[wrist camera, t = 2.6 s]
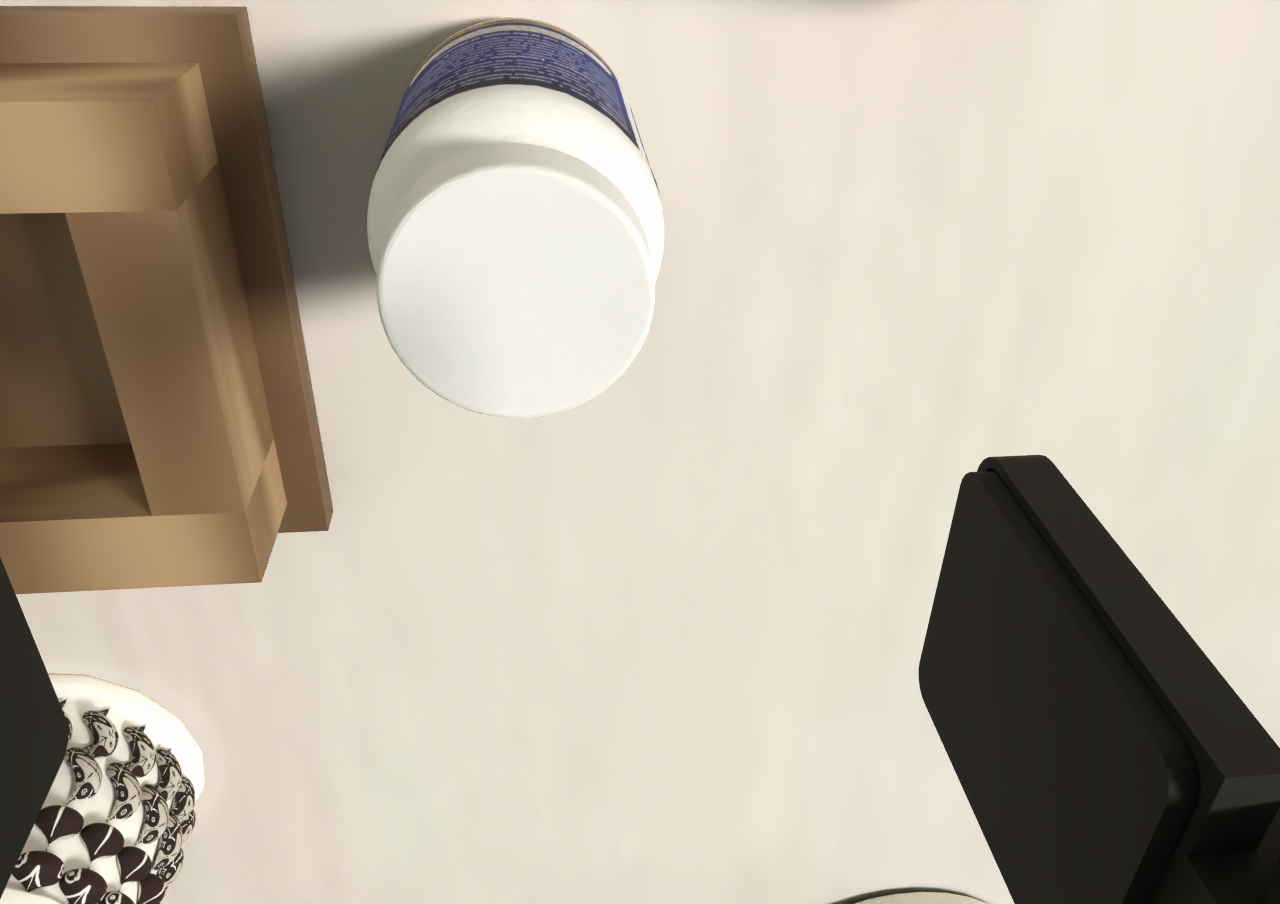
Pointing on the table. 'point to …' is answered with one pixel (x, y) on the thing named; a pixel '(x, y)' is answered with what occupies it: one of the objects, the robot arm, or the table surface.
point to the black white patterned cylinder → (111, 802)
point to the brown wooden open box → (145, 307)
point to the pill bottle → (515, 223)
